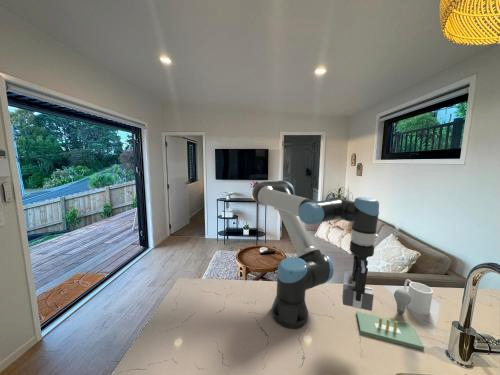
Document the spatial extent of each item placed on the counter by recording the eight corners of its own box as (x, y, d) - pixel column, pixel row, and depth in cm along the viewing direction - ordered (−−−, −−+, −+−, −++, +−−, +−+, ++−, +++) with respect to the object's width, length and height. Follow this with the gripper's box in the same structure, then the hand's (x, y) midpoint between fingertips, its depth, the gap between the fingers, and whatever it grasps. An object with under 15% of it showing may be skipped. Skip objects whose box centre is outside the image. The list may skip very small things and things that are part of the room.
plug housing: (343, 304, 77) (344, 288, 76) (342, 297, 81) (343, 281, 80) (371, 311, 74) (373, 294, 73) (369, 303, 78) (371, 287, 77)
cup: (410, 296, 104) (412, 277, 103) (434, 313, 93) (438, 292, 91) (395, 297, 103) (398, 278, 102) (418, 315, 91) (421, 293, 90)
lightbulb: (411, 320, 88) (415, 295, 87) (395, 317, 90) (398, 293, 88) (404, 310, 94) (407, 287, 93) (389, 307, 96) (392, 285, 94)
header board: (360, 333, 81) (361, 322, 80) (356, 313, 91) (357, 303, 91) (423, 350, 75) (425, 338, 74) (411, 326, 85) (413, 316, 84)
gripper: (380, 254, 65) (372, 323, 68) (369, 235, 81) (363, 291, 84) (353, 250, 67) (346, 316, 71) (348, 232, 83) (342, 287, 87)
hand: (355, 302), depth 77 cm, fingers closed on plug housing, 4 cm apart
